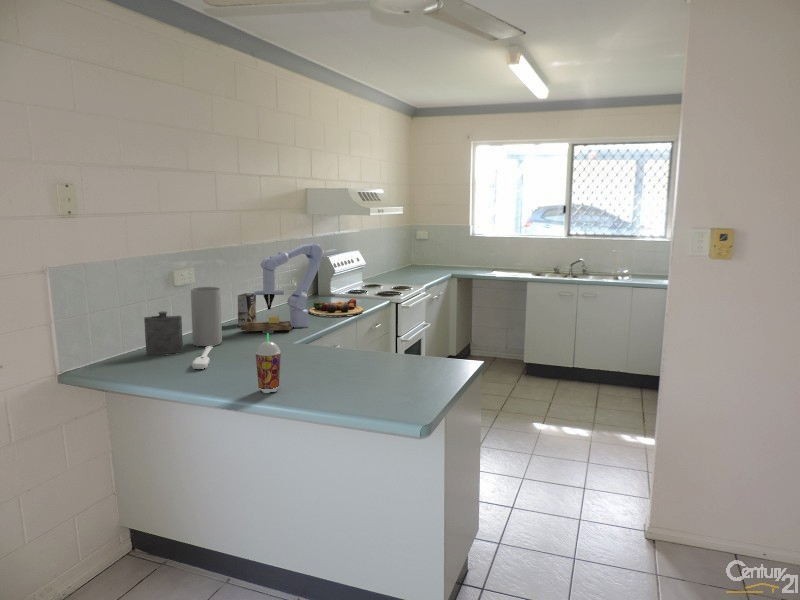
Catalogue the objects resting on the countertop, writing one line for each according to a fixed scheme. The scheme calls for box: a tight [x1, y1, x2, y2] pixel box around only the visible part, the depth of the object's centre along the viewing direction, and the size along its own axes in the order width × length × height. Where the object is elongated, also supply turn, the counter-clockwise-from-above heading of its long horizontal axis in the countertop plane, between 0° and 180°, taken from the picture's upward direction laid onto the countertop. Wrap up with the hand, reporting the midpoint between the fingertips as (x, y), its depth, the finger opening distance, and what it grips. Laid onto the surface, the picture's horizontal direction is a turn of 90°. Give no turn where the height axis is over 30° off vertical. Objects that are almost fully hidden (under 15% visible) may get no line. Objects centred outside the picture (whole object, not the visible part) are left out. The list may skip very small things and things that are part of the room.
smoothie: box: [255, 333, 282, 389], centre depth 197 cm, size 8×8×20 cm
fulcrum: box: [262, 330, 274, 335], centre depth 290 cm, size 5×9×2 cm, turn 14°
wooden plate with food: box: [308, 297, 364, 316], centre depth 345 cm, size 32×32×8 cm
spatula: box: [191, 346, 214, 370], centre depth 234 cm, size 28×6×3 cm, turn 9°
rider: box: [268, 315, 280, 324], centre depth 290 cm, size 5×5×5 cm
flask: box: [143, 310, 184, 356], centre depth 243 cm, size 4×14×18 cm, turn 108°
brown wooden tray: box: [240, 320, 292, 332], centre depth 290 cm, size 24×8×3 cm, turn 104°
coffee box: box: [237, 292, 257, 327], centre depth 305 cm, size 9×6×16 cm
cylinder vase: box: [190, 286, 223, 347], centre depth 261 cm, size 12×12×25 cm
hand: (269, 309), depth 294 cm, fingers closed
